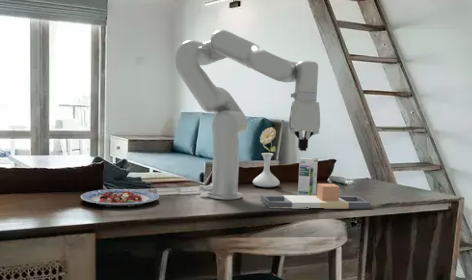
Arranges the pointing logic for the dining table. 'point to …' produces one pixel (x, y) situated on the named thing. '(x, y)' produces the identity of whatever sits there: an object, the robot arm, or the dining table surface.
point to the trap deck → (315, 202)
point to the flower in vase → (267, 161)
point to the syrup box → (307, 176)
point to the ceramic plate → (119, 197)
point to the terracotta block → (328, 192)
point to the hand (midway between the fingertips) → (302, 150)
